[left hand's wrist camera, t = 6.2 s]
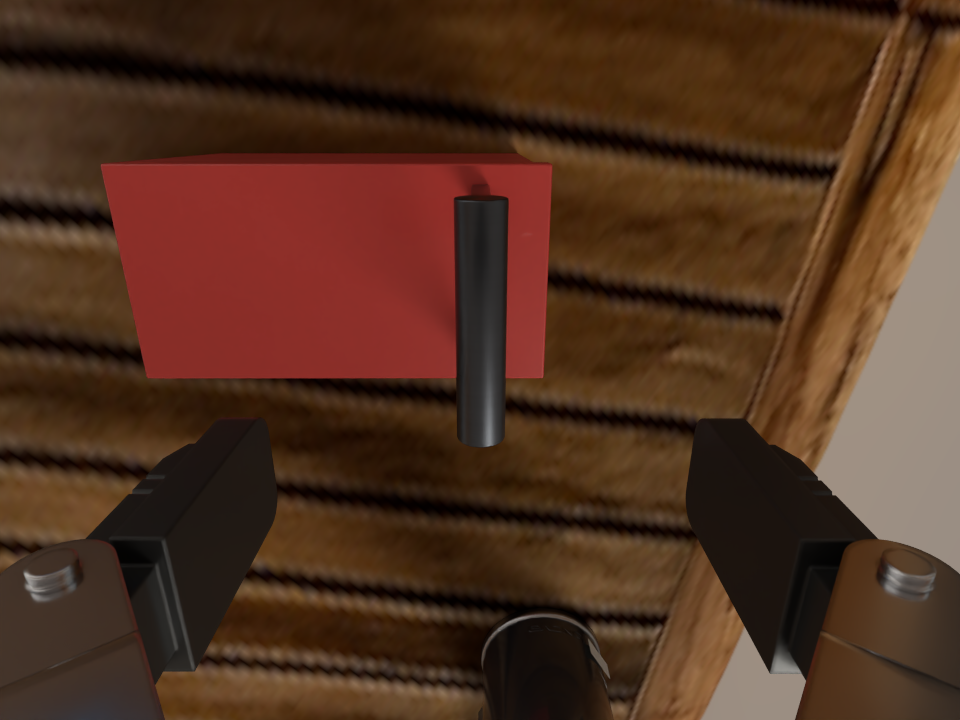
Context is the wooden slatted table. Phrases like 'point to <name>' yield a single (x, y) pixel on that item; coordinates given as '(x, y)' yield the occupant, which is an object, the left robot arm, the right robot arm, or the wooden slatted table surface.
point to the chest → (347, 157)
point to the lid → (340, 272)
